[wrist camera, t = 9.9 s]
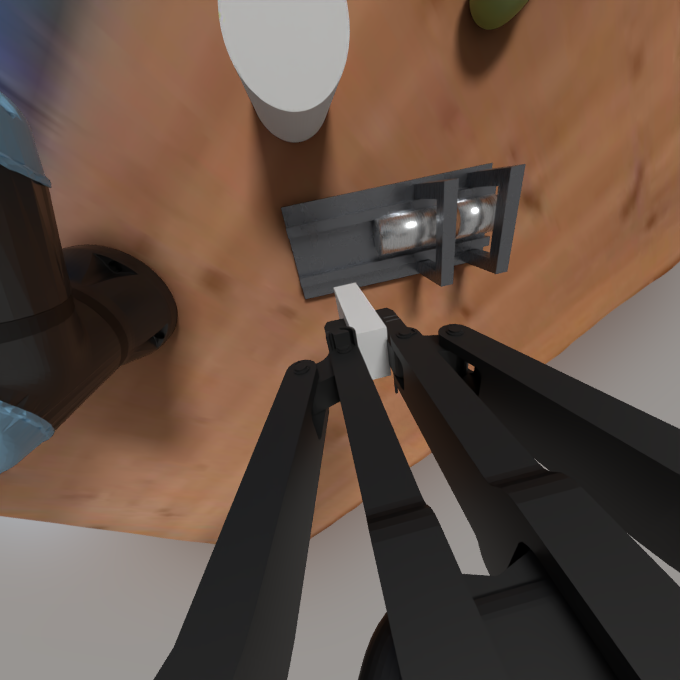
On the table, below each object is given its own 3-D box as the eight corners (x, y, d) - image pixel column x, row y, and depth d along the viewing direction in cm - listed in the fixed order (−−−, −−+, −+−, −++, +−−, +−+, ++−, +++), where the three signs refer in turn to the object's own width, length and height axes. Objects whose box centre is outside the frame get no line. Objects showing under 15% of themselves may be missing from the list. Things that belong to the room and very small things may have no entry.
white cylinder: (284, 9, 23) (275, -136, 13) (344, 96, 27) (374, 35, 17) (233, 90, 26) (190, 18, 15) (295, 160, 29) (294, 141, 19)
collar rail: (305, 296, 37) (307, 321, 30) (281, 207, 31) (276, 210, 24) (477, 257, 38) (520, 272, 31) (487, 163, 32) (543, 154, 25)
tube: (376, 256, 34) (385, 254, 30) (371, 222, 33) (379, 215, 29) (480, 233, 35) (503, 228, 31) (479, 199, 34) (502, 189, 30)
